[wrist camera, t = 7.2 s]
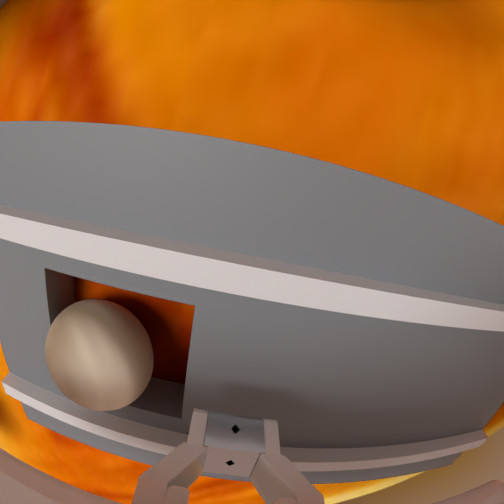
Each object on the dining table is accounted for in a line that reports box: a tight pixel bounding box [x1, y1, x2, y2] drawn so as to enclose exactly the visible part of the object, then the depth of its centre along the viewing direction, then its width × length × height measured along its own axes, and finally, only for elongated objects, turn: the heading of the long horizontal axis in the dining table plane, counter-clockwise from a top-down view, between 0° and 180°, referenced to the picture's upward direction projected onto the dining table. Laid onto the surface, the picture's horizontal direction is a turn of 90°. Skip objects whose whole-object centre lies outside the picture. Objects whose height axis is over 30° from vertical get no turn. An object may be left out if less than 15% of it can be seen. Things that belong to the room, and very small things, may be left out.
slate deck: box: [0, 121, 504, 484], centre depth 13 cm, size 32×18×4 cm, turn 78°
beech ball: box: [45, 299, 154, 411], centre depth 12 cm, size 5×5×5 cm
